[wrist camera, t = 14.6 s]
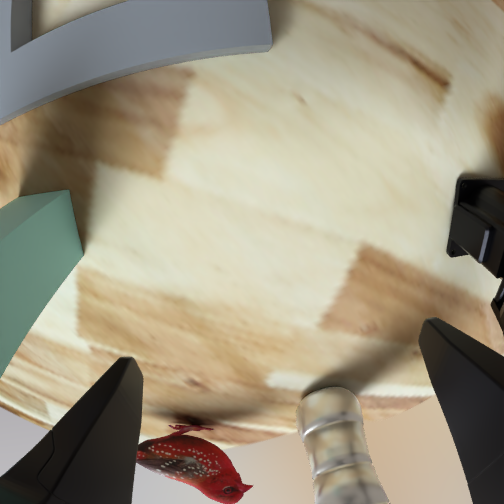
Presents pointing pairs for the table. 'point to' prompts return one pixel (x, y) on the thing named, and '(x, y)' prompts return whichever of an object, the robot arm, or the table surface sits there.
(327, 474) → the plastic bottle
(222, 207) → the table surface
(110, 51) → the collar board
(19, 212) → the teal peg
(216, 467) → the decorative bird figurine
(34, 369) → the table surface
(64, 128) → the table surface
